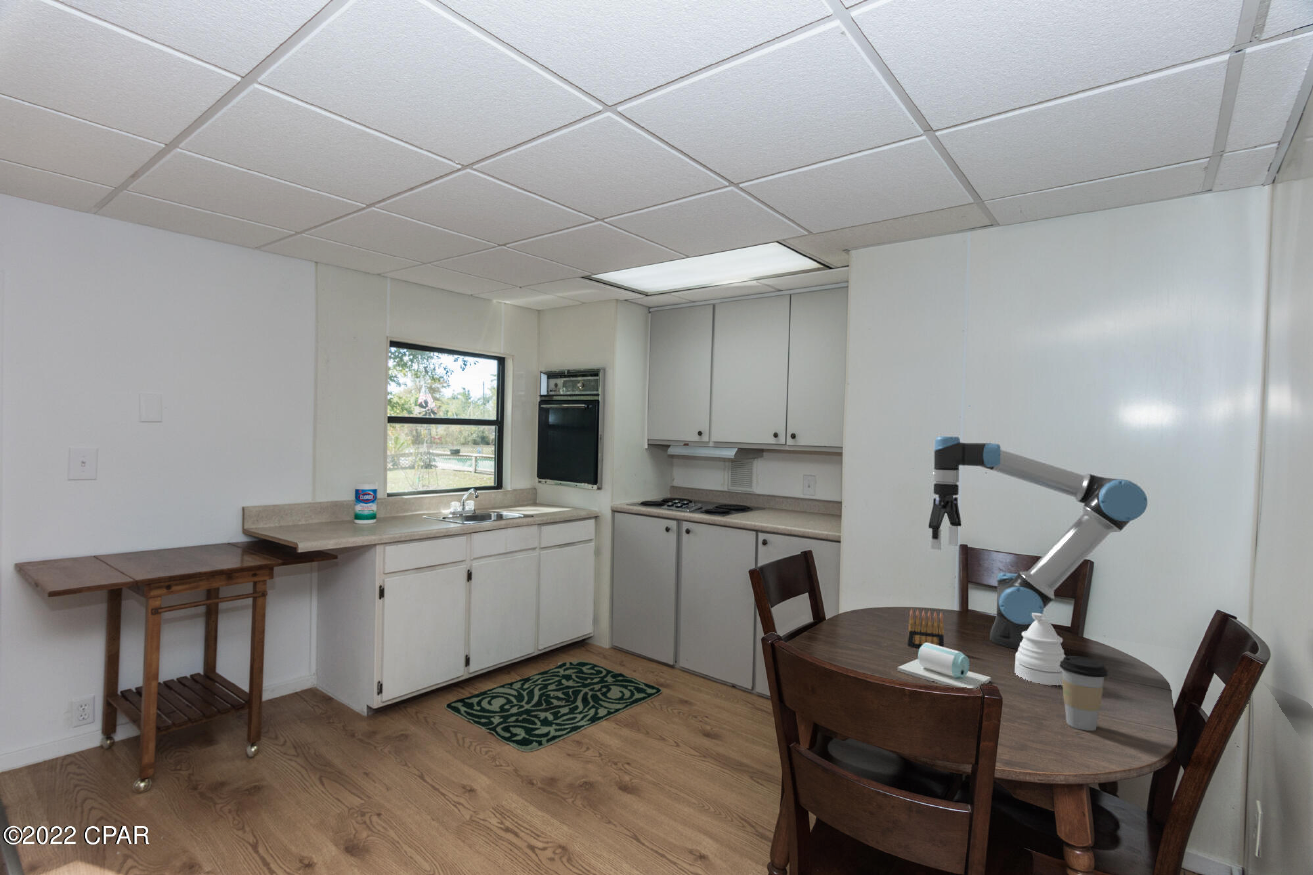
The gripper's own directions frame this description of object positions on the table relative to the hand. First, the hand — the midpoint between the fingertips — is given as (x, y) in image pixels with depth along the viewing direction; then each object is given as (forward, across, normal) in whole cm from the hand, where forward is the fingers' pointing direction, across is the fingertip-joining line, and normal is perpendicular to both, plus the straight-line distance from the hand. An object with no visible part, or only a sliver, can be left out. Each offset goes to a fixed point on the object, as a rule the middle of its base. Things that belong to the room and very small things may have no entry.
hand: (944, 547), depth 212 cm
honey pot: (+32, +10, +31) cm, 46 cm away
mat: (+31, +32, +13) cm, 46 cm away
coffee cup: (+32, +39, +48) cm, 69 cm away
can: (+27, +32, +7) cm, 42 cm away
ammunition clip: (+32, +10, -1) cm, 33 cm away
